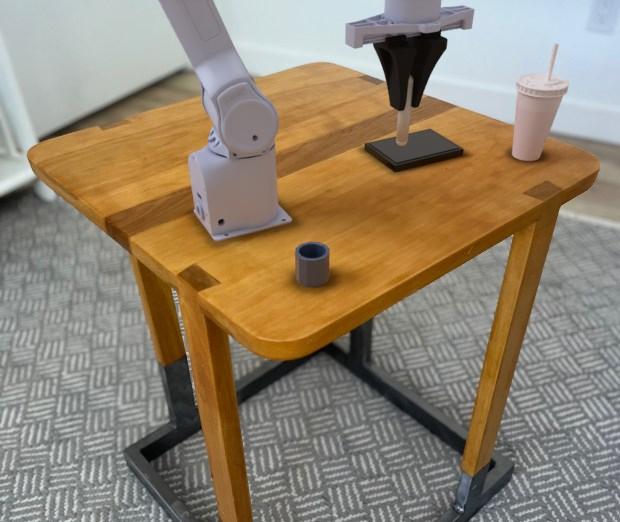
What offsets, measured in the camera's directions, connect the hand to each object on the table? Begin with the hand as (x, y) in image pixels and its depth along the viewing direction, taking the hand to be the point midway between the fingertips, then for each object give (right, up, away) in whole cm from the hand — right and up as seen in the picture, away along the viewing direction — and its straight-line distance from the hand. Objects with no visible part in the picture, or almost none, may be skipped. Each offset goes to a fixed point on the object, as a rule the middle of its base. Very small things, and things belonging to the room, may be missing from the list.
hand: (404, 106), depth 70 cm
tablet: (+4, 0, +16) cm, 16 cm away
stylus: (0, -3, +3) cm, 5 cm away
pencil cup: (-10, -21, -7) cm, 24 cm away
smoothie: (+19, -1, +14) cm, 24 cm away
